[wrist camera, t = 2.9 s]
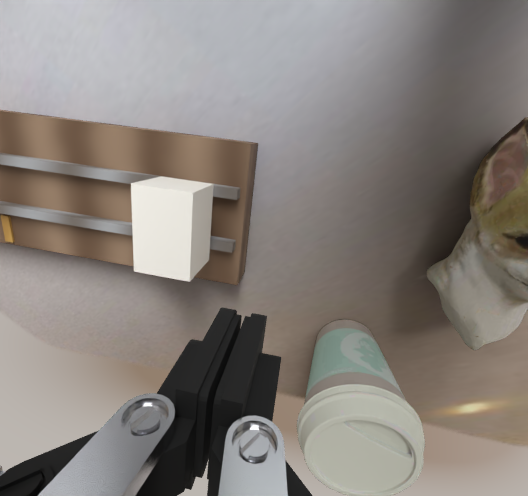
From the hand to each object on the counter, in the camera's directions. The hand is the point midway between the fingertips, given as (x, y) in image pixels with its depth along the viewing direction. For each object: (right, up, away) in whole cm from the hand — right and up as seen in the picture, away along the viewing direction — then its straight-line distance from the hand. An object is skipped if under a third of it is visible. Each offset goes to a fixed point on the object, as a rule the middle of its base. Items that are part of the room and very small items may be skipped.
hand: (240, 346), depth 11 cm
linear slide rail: (-14, +9, +18) cm, 25 cm away
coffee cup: (+9, -6, +20) cm, 23 cm away
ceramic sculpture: (+20, +5, +14) cm, 25 cm away
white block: (-5, +6, +14) cm, 16 cm away
